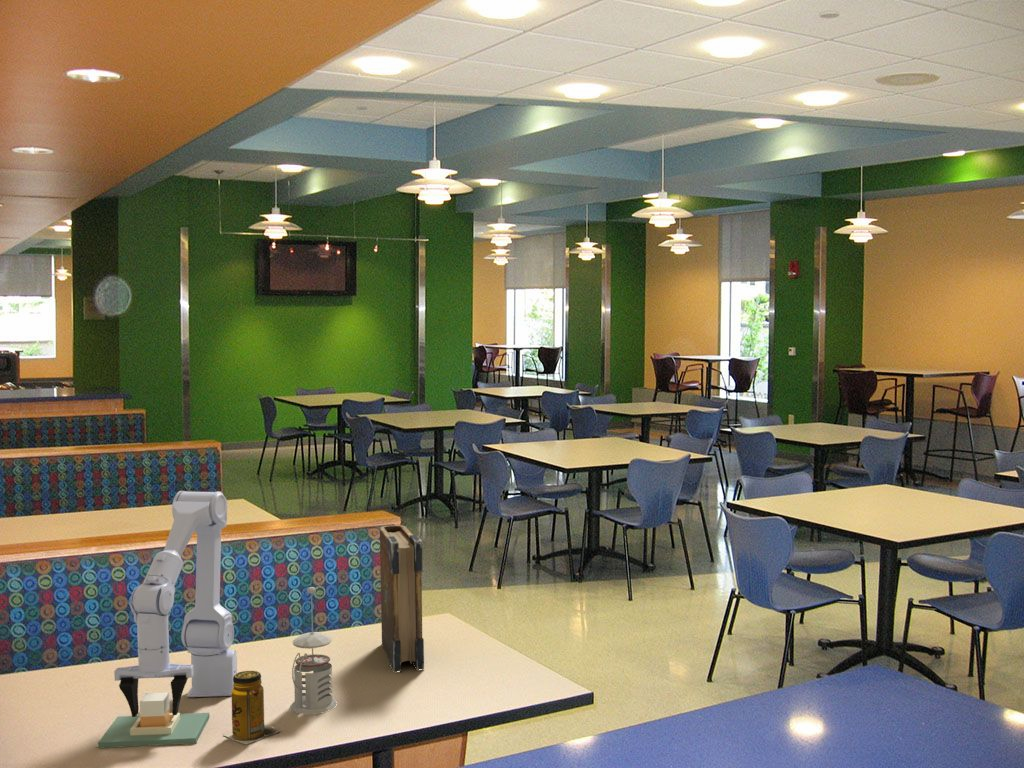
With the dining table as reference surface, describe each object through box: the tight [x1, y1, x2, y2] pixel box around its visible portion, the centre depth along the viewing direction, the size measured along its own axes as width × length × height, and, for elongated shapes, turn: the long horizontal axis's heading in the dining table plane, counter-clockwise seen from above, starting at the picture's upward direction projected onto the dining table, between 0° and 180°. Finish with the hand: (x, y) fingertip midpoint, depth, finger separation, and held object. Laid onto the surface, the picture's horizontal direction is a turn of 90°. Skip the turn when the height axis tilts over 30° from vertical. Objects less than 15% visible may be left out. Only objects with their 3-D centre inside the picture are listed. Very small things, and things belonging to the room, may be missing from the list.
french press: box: [289, 586, 338, 715], centre depth 213 cm, size 10×12×25 cm
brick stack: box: [139, 691, 171, 727], centre depth 201 cm, size 4×4×6 cm
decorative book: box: [379, 524, 425, 672], centre depth 245 cm, size 23×7×30 cm, turn 15°
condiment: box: [223, 670, 283, 745], centre depth 199 cm, size 7×8×12 cm
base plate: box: [97, 712, 211, 749], centre depth 201 cm, size 18×13×2 cm
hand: (155, 714), depth 201 cm, fingers open, 7 cm apart
